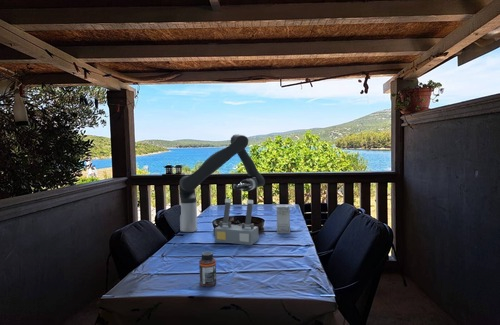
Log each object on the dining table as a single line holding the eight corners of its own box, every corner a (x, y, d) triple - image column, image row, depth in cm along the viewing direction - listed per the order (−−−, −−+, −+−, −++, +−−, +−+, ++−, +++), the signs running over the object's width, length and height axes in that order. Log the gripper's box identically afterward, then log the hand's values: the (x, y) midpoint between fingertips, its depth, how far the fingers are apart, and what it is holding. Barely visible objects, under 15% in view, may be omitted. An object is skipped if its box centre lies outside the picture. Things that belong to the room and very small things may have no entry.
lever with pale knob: (221, 225, 170) (225, 198, 174) (223, 225, 171) (226, 199, 175) (227, 225, 168) (230, 199, 172) (228, 225, 170) (232, 199, 174)
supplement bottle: (200, 280, 117) (199, 250, 116) (216, 280, 117) (215, 250, 117) (199, 287, 111) (198, 256, 110) (216, 286, 111) (215, 255, 111)
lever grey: (243, 226, 165) (246, 199, 169) (245, 227, 166) (248, 200, 170) (249, 227, 163) (252, 199, 167) (251, 227, 165) (253, 200, 169)
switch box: (214, 241, 167) (214, 223, 167) (223, 236, 176) (222, 219, 176) (251, 245, 159) (251, 226, 159) (258, 239, 169) (258, 222, 168)
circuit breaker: (289, 226, 195) (289, 202, 194) (290, 232, 181) (289, 206, 180) (277, 226, 196) (276, 202, 195) (277, 232, 182) (276, 207, 181)
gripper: (238, 178, 202) (226, 181, 186) (257, 179, 197) (246, 182, 181) (238, 190, 202) (226, 194, 186) (257, 190, 197) (247, 195, 181)
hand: (236, 188), depth 184 cm, fingers closed
